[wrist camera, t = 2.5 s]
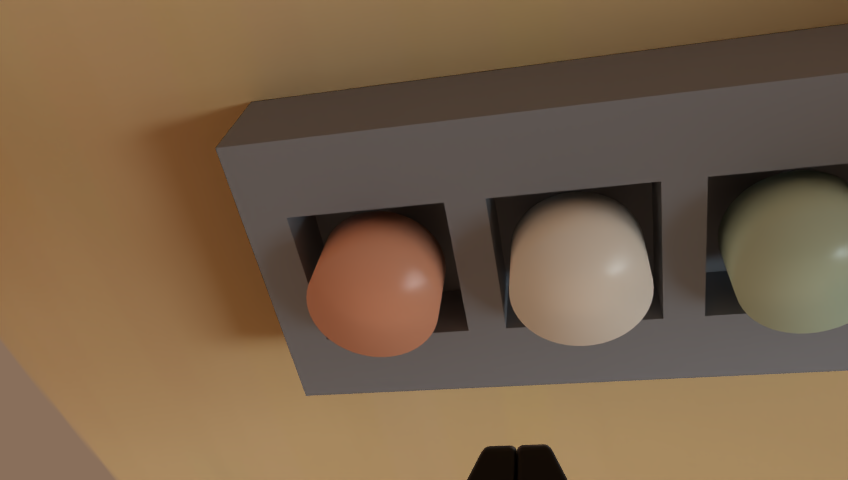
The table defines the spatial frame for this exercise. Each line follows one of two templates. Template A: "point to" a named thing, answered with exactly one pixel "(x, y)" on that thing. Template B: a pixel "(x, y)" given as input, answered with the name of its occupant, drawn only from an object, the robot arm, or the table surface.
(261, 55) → the table surface
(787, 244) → the sage button
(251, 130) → the button panel
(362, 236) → the terracotta button
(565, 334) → the cream button
